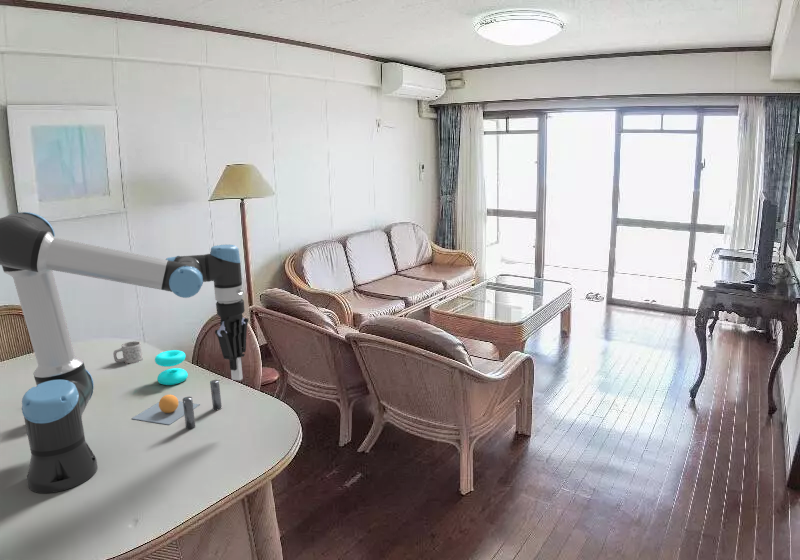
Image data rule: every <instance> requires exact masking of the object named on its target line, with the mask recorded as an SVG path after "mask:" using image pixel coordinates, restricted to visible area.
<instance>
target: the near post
mask: <svg viewBox="0 0 800 560" xmlns="http://www.w3.org/2000/svg"><path fill="white" fill-rule="evenodd" d="M182 402H183V407H184V416H183V417H184V421H185V422H184V423H185V429H186V430H192V429H195V428H196V420H195V419H196V418H195V412H194V411H195V410H194V409H193V397H192V396H185V397H183V398H182Z"/></svg>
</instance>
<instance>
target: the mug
mask: <svg viewBox="0 0 800 560" xmlns="http://www.w3.org/2000/svg"><path fill="white" fill-rule="evenodd" d="M141 344H142V343H141V342H140V341H136V340H135V341H128V342H124V343H123V344H121V347H120V348H117V349H115V350H113V360H114V362H116V363H119V362H123V363H124V362H125V364H128V363H130V364H136V363H139V361H140V362H141V361H143V360H144V359H143V358H144V357H143V352H142V345H141ZM118 353H122V358H118V357H117V354H118Z"/></svg>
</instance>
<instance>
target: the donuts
mask: <svg viewBox="0 0 800 560" xmlns="http://www.w3.org/2000/svg"><path fill="white" fill-rule="evenodd" d="M185 359H186V353H185V352H184V351H182V350H178V349H172V350H171V349H170V350H165V351H161V352H160V353H158V354H156V356H155V357H154V362H155V364H156V365H158V366H159V367H168V368H169V367H174V366H177V365H180V364H182V363H183V362H184V361H185ZM188 376H189V374H188V372H187V370H185V369H184V368H180V367H174V368H169V369H165V370H162V371H161V372H160V373H159V374H158V375H157V382H158V383H159V384H160V385H164V386H174V385H178V384H180V383H183V382H184V381H186V380H187V379H188V378H189V377H188Z"/></svg>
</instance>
